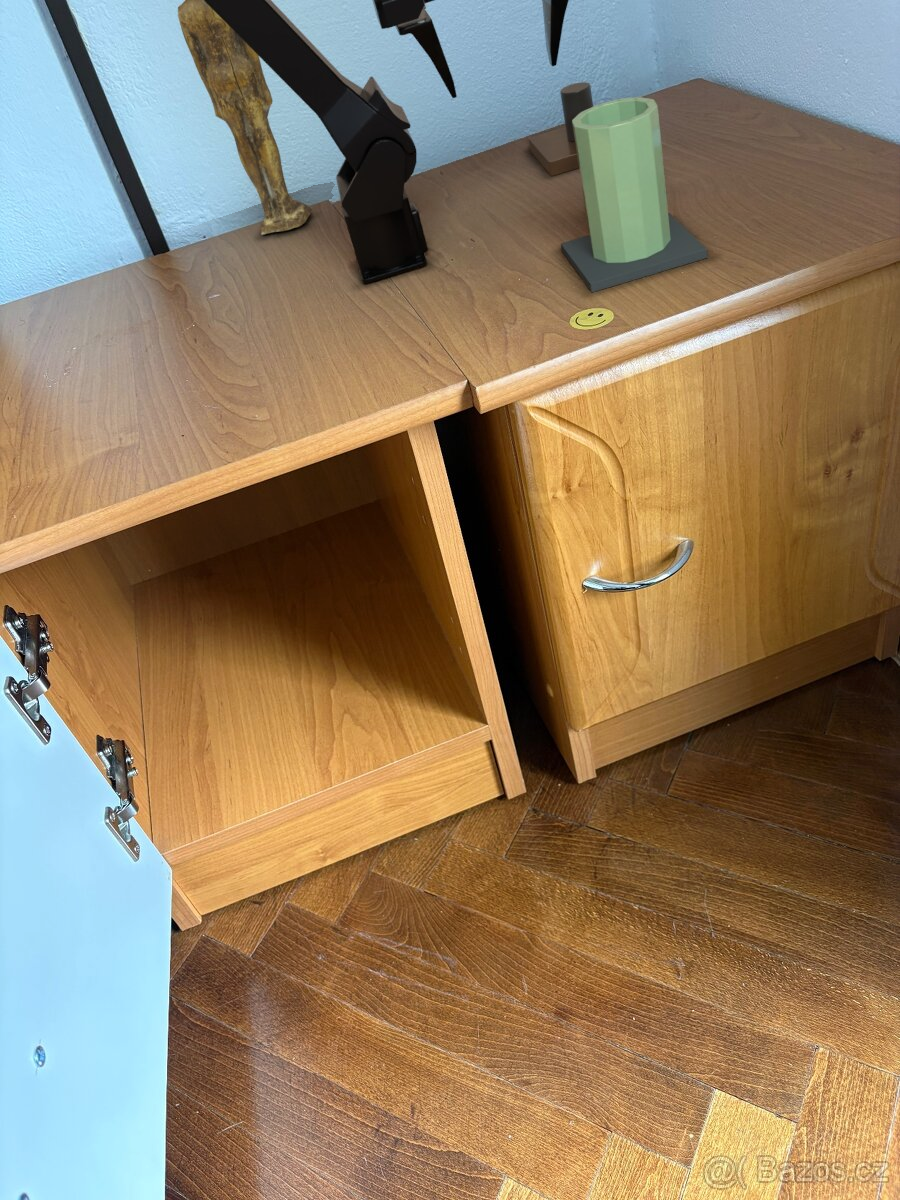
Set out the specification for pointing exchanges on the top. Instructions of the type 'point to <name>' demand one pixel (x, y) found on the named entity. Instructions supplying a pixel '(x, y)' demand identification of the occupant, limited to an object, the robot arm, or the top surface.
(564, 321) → the top surface
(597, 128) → the green faceted tube
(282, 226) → the sculpture
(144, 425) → the top surface
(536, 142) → the stand
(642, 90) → the top surface
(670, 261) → the mat
